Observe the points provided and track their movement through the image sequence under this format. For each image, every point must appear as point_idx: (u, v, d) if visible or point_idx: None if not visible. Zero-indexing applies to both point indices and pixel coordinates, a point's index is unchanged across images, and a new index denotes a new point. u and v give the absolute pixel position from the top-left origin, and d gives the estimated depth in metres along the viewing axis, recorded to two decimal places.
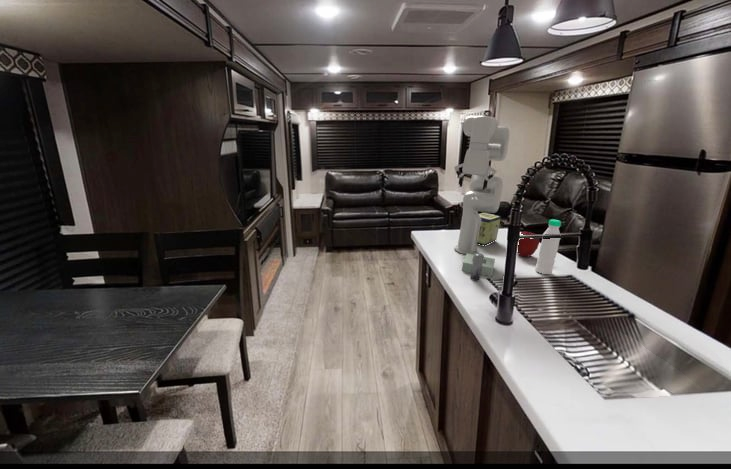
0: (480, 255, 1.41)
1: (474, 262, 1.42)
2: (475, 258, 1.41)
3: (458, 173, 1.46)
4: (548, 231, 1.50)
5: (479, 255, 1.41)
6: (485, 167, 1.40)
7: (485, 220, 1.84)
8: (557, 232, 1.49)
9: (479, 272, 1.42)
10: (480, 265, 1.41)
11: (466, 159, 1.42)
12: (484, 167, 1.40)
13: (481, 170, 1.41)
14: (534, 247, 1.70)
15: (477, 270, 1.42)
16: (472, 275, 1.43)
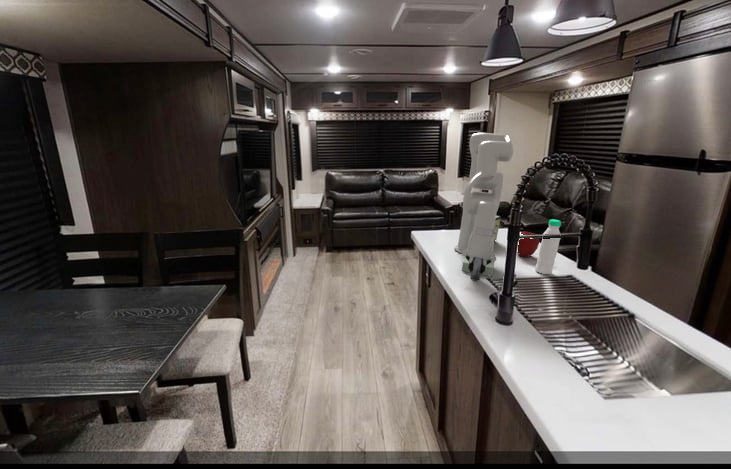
0: None
1: (474, 262, 1.42)
2: (475, 258, 1.41)
3: (468, 258, 1.43)
4: (548, 231, 1.50)
5: None
6: (490, 252, 1.37)
7: None
8: (557, 232, 1.49)
9: (479, 272, 1.42)
10: (480, 265, 1.41)
11: (470, 242, 1.39)
12: (489, 252, 1.38)
13: (486, 254, 1.38)
14: (534, 247, 1.70)
15: (477, 270, 1.42)
16: (472, 275, 1.43)
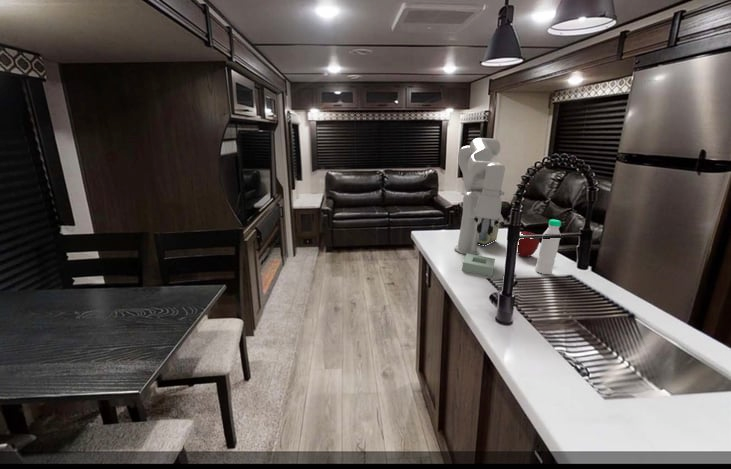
0: None
1: (482, 223, 1.49)
2: (483, 219, 1.48)
3: (476, 220, 1.50)
4: (548, 231, 1.50)
5: None
6: (498, 212, 1.45)
7: None
8: (557, 232, 1.49)
9: (487, 233, 1.49)
10: (488, 226, 1.48)
11: (479, 204, 1.47)
12: (497, 212, 1.45)
13: (494, 215, 1.46)
14: (534, 247, 1.70)
15: (485, 231, 1.49)
16: (480, 236, 1.51)
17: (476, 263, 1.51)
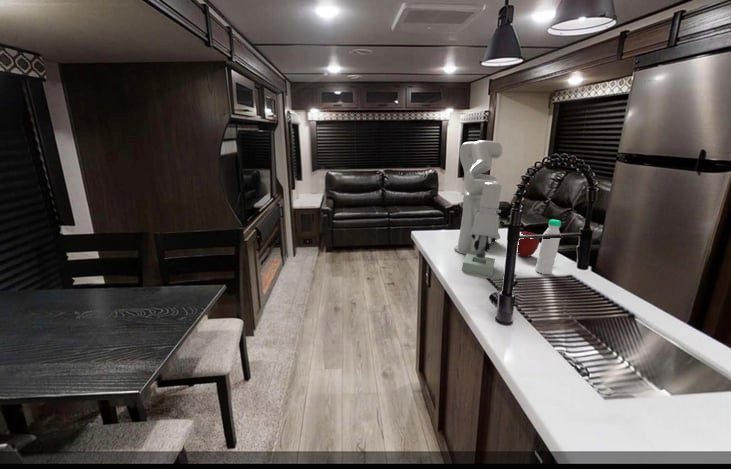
0: None
1: (479, 240, 1.51)
2: (480, 236, 1.50)
3: (474, 237, 1.52)
4: (548, 231, 1.50)
5: None
6: (494, 230, 1.47)
7: None
8: (557, 232, 1.49)
9: (484, 250, 1.51)
10: (485, 243, 1.50)
11: (476, 221, 1.49)
12: (493, 230, 1.47)
13: (491, 232, 1.48)
14: (534, 247, 1.70)
15: (482, 248, 1.51)
16: (478, 253, 1.53)
17: (476, 263, 1.51)
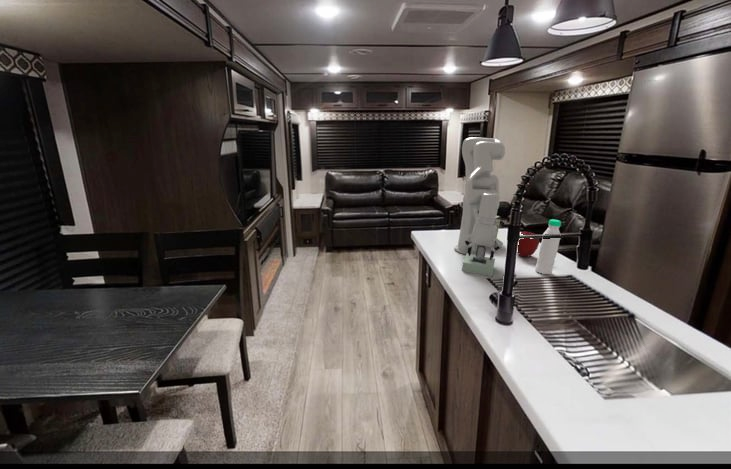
0: (482, 246, 1.53)
1: (477, 253, 1.53)
2: (478, 249, 1.52)
3: (467, 243, 1.55)
4: (548, 231, 1.50)
5: (482, 246, 1.53)
6: (492, 240, 1.48)
7: None
8: (557, 232, 1.49)
9: (482, 262, 1.54)
10: (483, 255, 1.53)
11: (474, 231, 1.51)
12: (492, 240, 1.49)
13: (489, 242, 1.49)
14: (534, 247, 1.70)
15: (480, 260, 1.53)
16: None
17: (476, 263, 1.51)
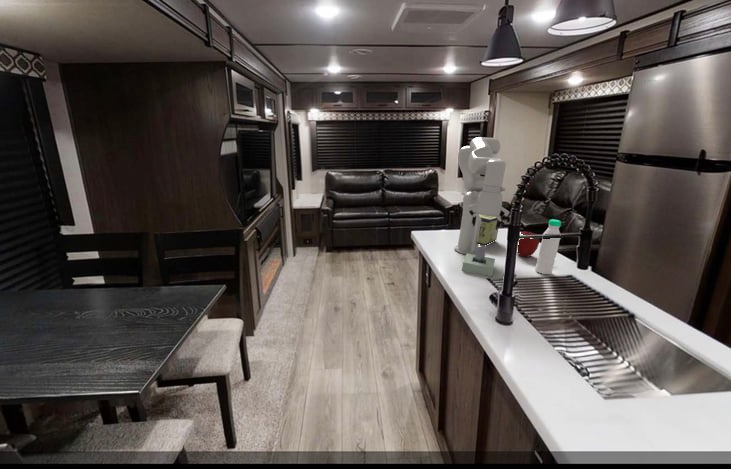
0: (482, 246, 1.53)
1: (477, 253, 1.53)
2: (478, 249, 1.52)
3: (471, 213, 1.50)
4: (548, 231, 1.50)
5: (482, 246, 1.53)
6: (498, 209, 1.44)
7: (485, 220, 1.84)
8: (557, 232, 1.49)
9: (482, 262, 1.54)
10: (483, 255, 1.53)
11: (480, 200, 1.46)
12: (497, 209, 1.44)
13: (494, 211, 1.45)
14: (534, 247, 1.70)
15: (480, 260, 1.53)
16: None
17: (476, 263, 1.51)
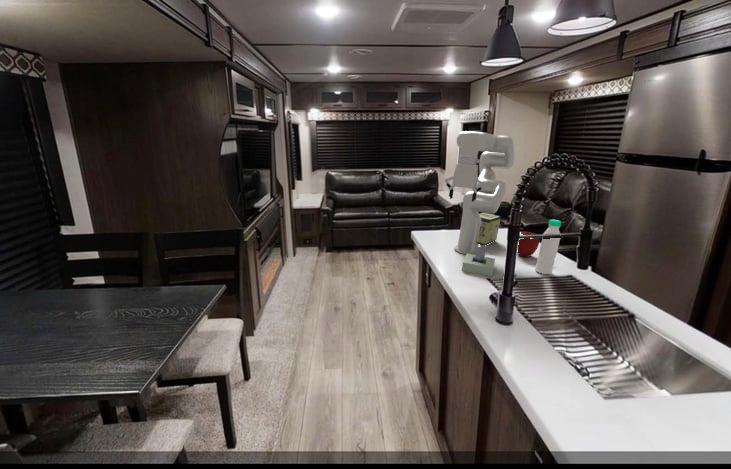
0: (482, 246, 1.53)
1: (477, 253, 1.53)
2: (478, 249, 1.52)
3: (448, 186, 1.53)
4: (548, 231, 1.50)
5: (482, 246, 1.53)
6: (474, 180, 1.47)
7: (485, 220, 1.84)
8: (557, 232, 1.49)
9: (482, 262, 1.54)
10: (483, 255, 1.53)
11: (456, 172, 1.49)
12: (473, 180, 1.47)
13: (470, 183, 1.48)
14: (534, 247, 1.70)
15: (480, 260, 1.53)
16: None
17: (476, 263, 1.51)
